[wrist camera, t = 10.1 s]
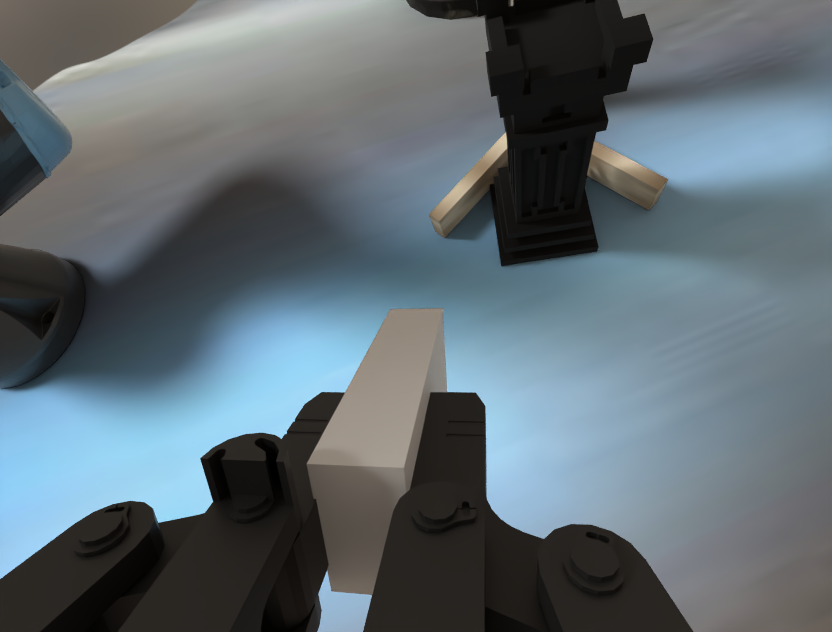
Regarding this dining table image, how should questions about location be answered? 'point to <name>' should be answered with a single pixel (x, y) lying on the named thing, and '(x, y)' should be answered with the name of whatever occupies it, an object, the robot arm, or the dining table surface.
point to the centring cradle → (602, 168)
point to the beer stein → (445, 8)
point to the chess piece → (553, 114)
